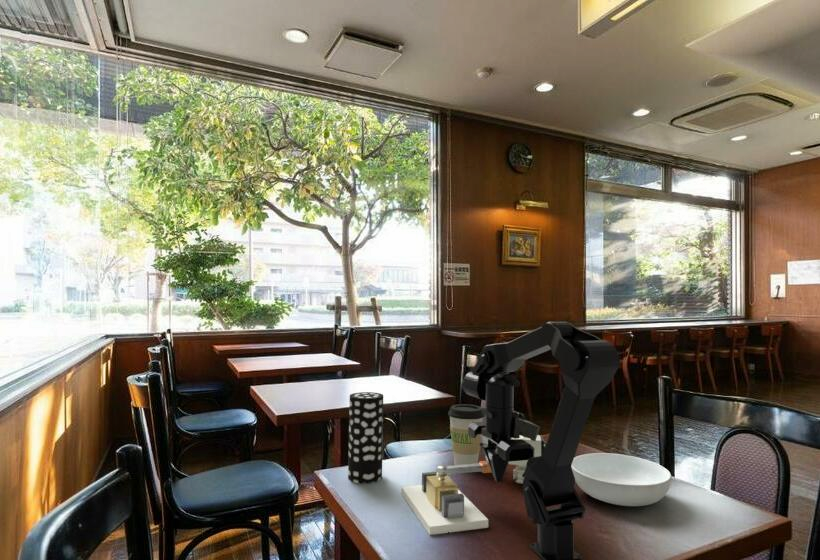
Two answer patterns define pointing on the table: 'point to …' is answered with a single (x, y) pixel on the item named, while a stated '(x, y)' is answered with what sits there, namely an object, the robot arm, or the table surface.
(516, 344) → the robot arm
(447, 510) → the valve pipe run
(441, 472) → the valve lever
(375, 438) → the spotted tube
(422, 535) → the table surface
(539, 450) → the pneumatic valve
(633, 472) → the serving bowl
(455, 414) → the coffee cup
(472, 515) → the base plate
